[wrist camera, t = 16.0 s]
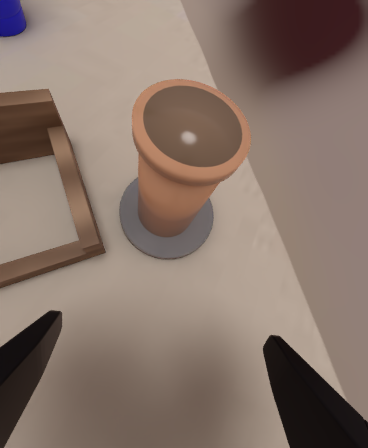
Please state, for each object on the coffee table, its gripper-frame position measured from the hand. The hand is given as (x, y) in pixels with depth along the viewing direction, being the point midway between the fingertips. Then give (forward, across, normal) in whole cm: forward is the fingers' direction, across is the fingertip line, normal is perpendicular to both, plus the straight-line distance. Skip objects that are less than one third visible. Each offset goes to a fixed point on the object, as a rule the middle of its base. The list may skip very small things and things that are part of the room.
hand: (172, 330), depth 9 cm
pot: (+16, 0, +1) cm, 17 cm away
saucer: (+18, 0, +2) cm, 18 cm away
